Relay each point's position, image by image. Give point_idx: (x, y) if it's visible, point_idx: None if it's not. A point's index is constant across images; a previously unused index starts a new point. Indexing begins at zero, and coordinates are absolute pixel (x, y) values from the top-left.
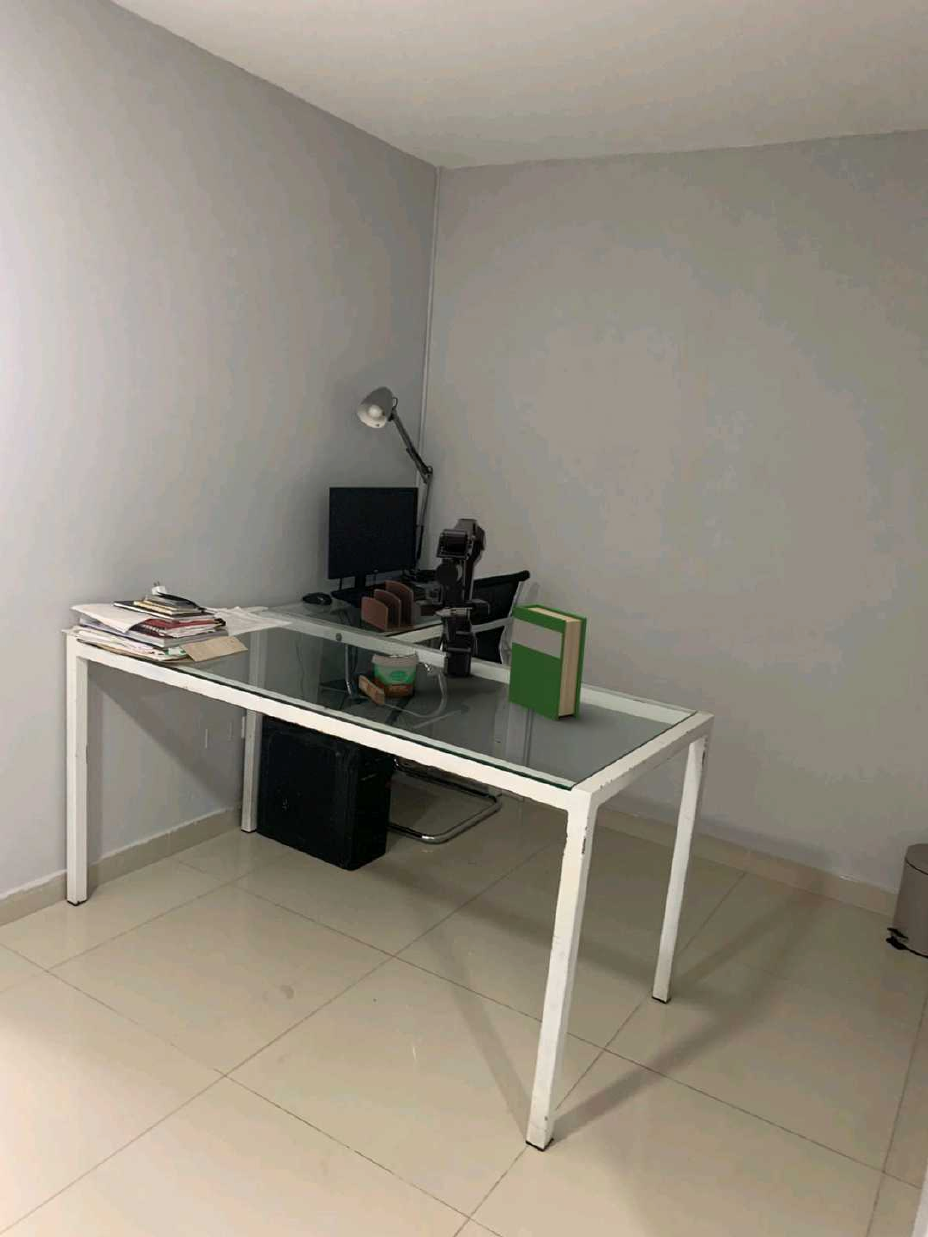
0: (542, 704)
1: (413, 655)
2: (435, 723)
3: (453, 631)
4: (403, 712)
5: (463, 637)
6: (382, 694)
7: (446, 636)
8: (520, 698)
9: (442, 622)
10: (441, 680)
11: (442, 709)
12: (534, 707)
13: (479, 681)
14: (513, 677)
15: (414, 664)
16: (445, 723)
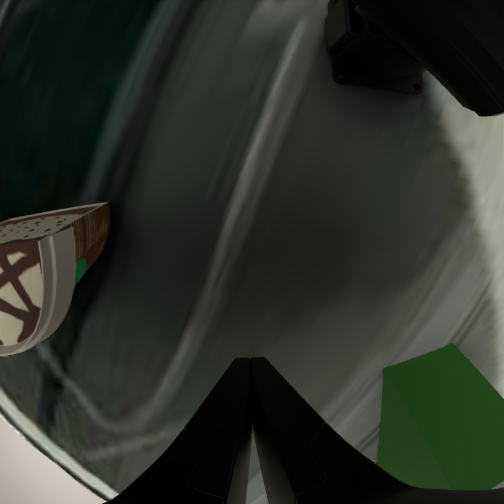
0: (384, 466)
1: (35, 270)
2: (128, 457)
3: (263, 478)
4: (66, 393)
5: (476, 84)
6: (5, 356)
7: (222, 379)
8: (388, 415)
9: (147, 483)
10: (277, 102)
11: (162, 404)
12: (382, 442)
13: (414, 159)
14: (409, 428)
15: (48, 336)
16: (149, 462)
